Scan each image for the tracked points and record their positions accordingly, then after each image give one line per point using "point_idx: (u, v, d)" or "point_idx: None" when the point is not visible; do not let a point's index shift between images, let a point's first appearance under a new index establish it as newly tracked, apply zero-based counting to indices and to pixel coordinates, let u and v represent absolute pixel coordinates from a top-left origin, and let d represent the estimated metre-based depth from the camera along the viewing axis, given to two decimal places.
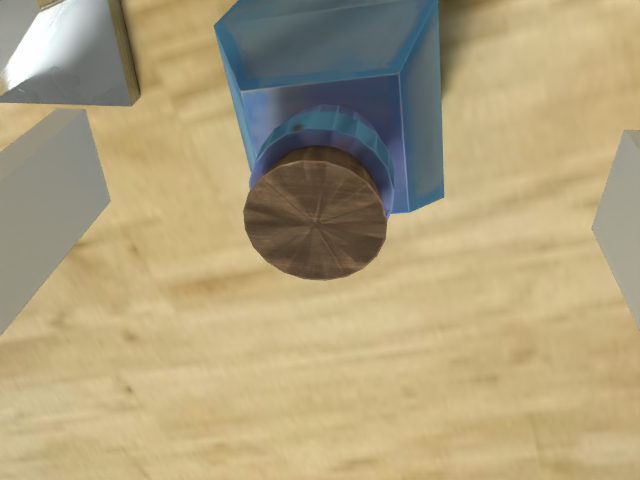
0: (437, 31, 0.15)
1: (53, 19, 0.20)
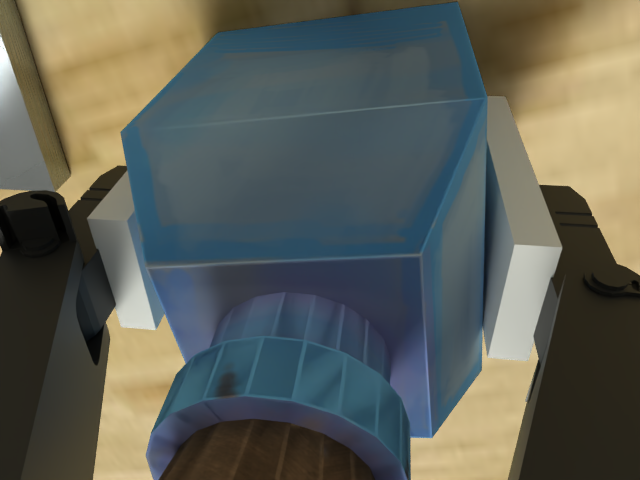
0: (483, 153, 0.09)
1: None
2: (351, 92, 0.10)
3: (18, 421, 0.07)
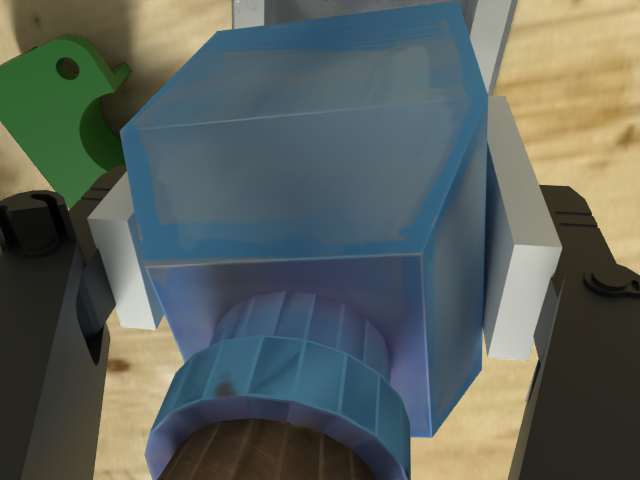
0: (484, 152, 0.09)
1: None
2: (351, 91, 0.10)
3: (18, 421, 0.07)
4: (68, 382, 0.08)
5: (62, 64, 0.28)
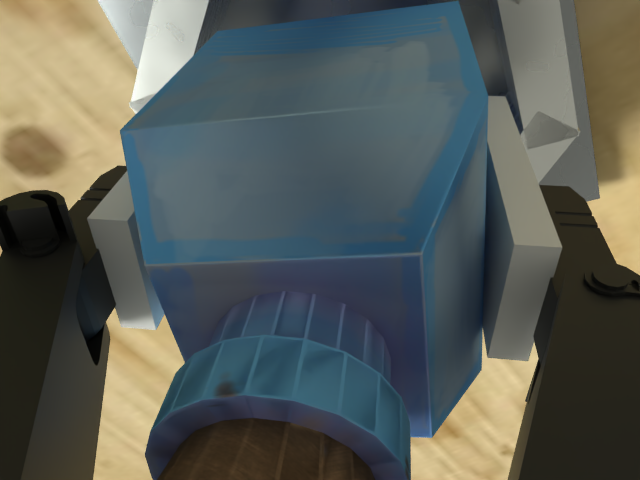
0: (484, 152, 0.09)
1: None
2: (351, 91, 0.10)
3: (17, 421, 0.07)
4: (68, 382, 0.08)
5: None
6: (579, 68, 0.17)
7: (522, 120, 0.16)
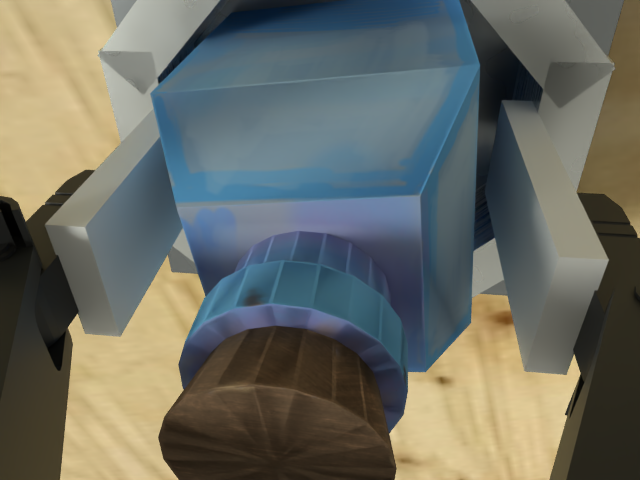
0: (476, 116, 0.10)
1: None
2: (358, 61, 0.11)
3: None
4: (29, 387, 0.08)
5: None
6: None
7: None
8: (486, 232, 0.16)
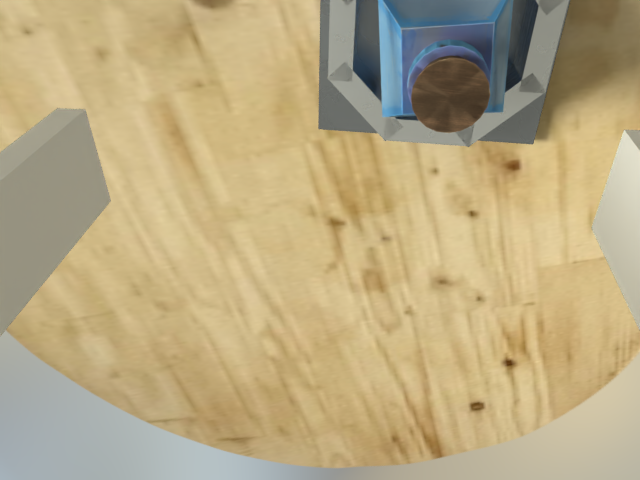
0: (512, 3, 0.25)
1: None
2: None
3: None
4: None
5: None
6: (551, 65, 0.33)
7: (523, 75, 0.30)
8: (508, 86, 0.31)
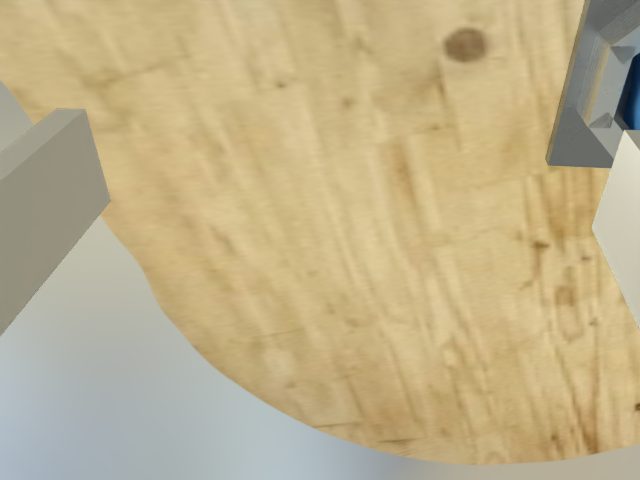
0: None
1: None
2: None
3: None
4: None
5: None
6: None
7: None
8: None
